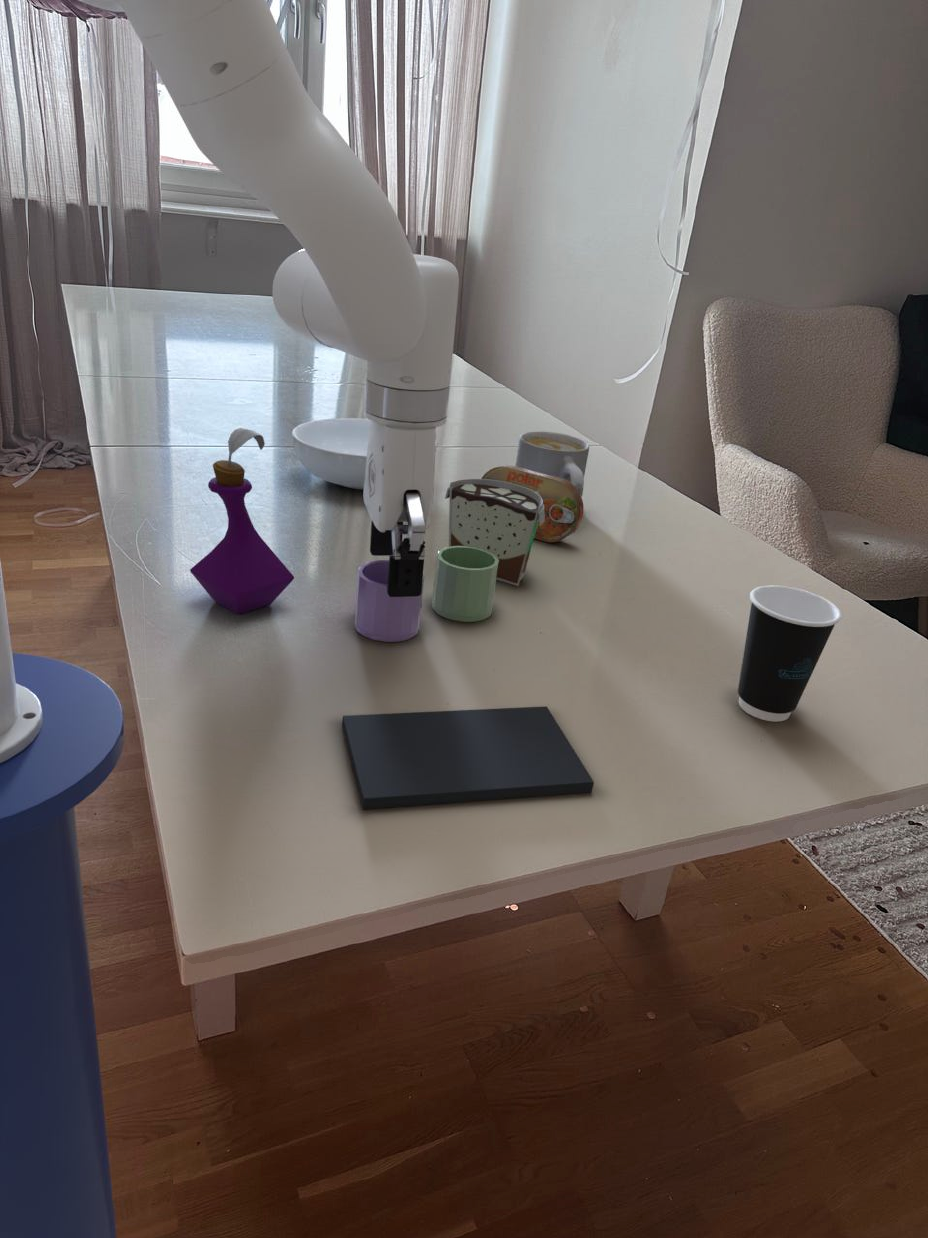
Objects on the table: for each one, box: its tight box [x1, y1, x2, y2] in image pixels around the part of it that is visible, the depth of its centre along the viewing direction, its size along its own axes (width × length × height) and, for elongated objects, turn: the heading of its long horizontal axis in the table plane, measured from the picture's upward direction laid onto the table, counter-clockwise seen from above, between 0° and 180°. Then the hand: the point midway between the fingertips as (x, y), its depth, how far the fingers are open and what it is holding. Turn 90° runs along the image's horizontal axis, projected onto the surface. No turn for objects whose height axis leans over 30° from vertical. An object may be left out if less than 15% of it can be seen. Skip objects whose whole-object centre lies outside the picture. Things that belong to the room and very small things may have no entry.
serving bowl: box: [291, 417, 438, 491], centre depth 131 cm, size 21×21×7 cm
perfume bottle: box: [189, 427, 295, 615], centre depth 88 cm, size 8×8×18 cm
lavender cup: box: [354, 559, 425, 643], centre depth 90 cm, size 6×6×6 cm
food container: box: [444, 478, 545, 587], centre depth 106 cm, size 12×6×10 cm, turn 62°
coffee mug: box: [515, 430, 590, 498], centre depth 127 cm, size 13×10×10 cm
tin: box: [480, 465, 584, 543], centre depth 119 cm, size 15×3×8 cm, turn 58°
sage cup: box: [431, 546, 499, 623], centre depth 96 cm, size 6×6×6 cm
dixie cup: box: [737, 584, 842, 723], centre depth 82 cm, size 8×8×11 cm
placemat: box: [341, 705, 595, 810], centre depth 72 cm, size 18×11×1 cm, turn 105°
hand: (394, 574), depth 89 cm, fingers open, 9 cm apart
